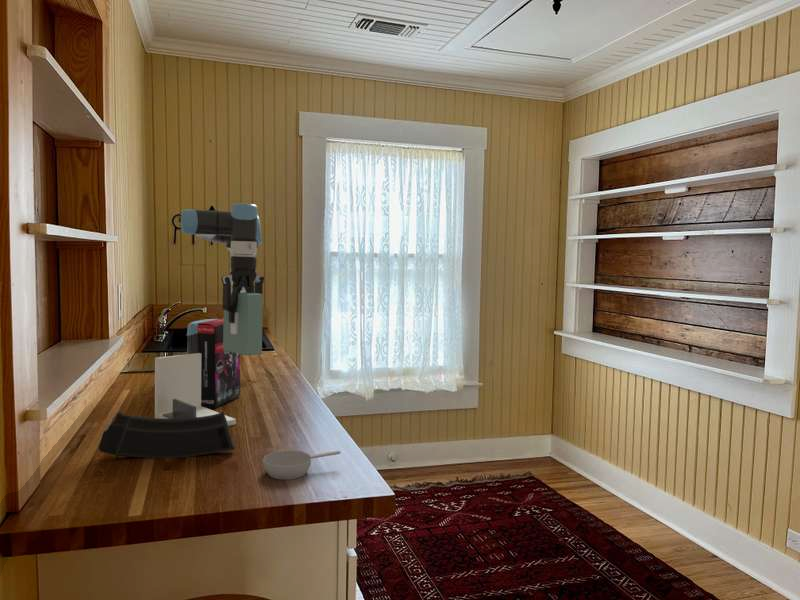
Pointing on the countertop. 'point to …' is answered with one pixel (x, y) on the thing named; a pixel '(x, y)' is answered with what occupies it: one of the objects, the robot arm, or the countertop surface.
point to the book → (245, 326)
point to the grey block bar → (181, 410)
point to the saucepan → (290, 463)
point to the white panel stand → (180, 385)
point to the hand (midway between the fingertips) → (242, 332)
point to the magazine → (166, 436)
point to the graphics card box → (217, 366)
